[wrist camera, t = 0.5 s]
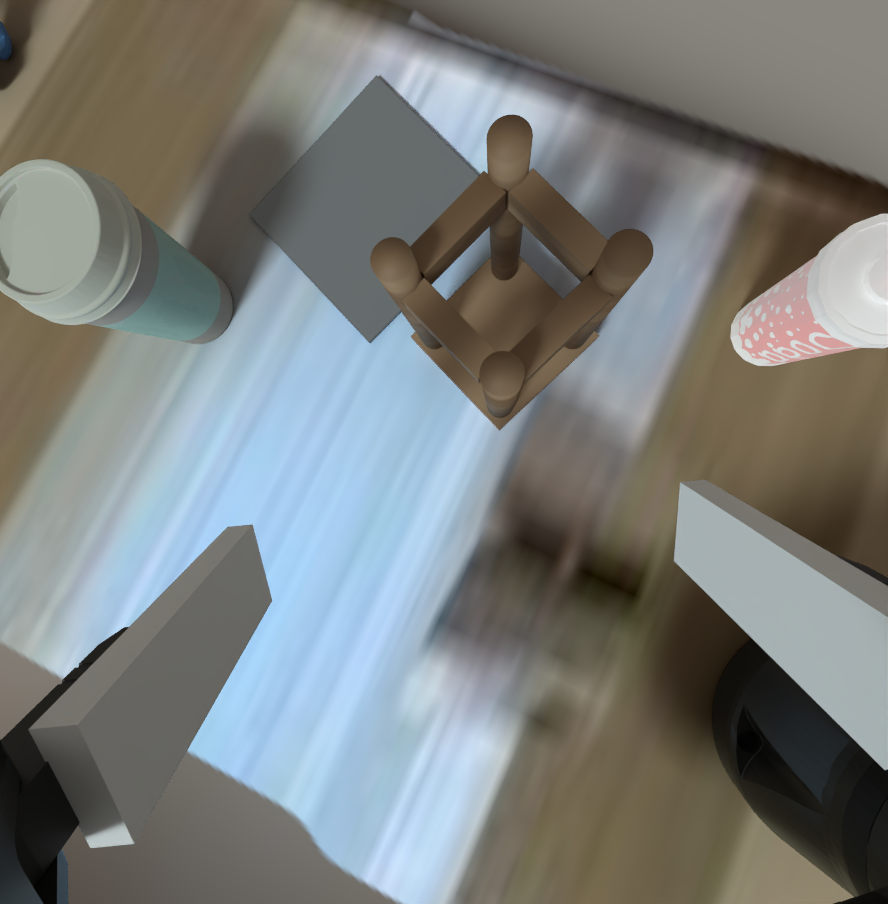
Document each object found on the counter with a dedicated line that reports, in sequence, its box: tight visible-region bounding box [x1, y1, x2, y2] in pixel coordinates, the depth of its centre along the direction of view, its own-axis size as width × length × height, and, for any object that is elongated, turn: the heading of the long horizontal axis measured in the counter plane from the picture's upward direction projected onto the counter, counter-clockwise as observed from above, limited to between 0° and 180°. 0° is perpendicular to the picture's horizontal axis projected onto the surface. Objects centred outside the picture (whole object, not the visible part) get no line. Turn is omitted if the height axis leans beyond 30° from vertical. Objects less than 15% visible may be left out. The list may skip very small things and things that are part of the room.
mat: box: [249, 75, 478, 343], centre depth 31 cm, size 14×14×1 cm
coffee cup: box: [0, 159, 233, 344], centre depth 28 cm, size 8×8×12 cm
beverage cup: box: [731, 214, 888, 366], centre depth 21 cm, size 6×6×14 cm
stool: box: [370, 115, 653, 430], centre depth 24 cm, size 9×9×14 cm
